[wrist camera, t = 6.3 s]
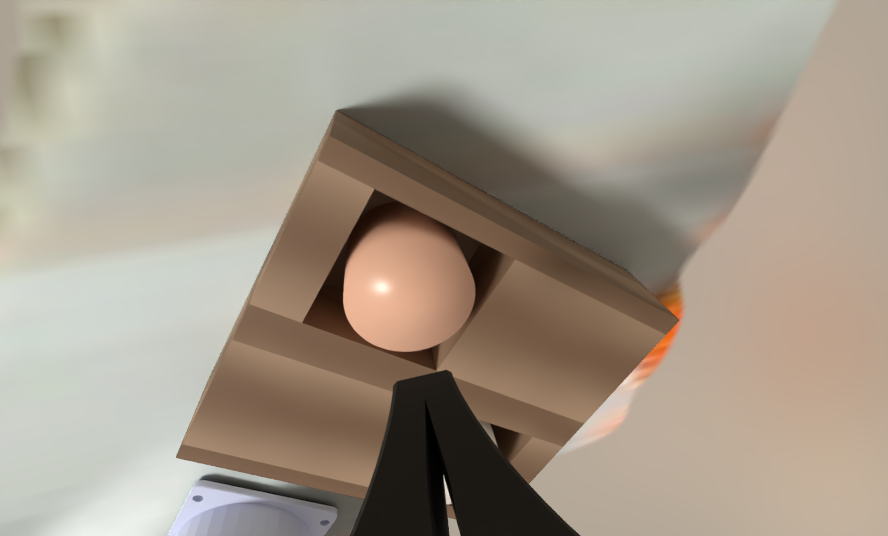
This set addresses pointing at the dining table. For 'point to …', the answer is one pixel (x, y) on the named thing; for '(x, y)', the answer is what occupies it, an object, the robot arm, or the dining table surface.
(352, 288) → the peach egg
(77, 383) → the dining table surface
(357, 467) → the wooden egg crate
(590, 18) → the dining table surface
